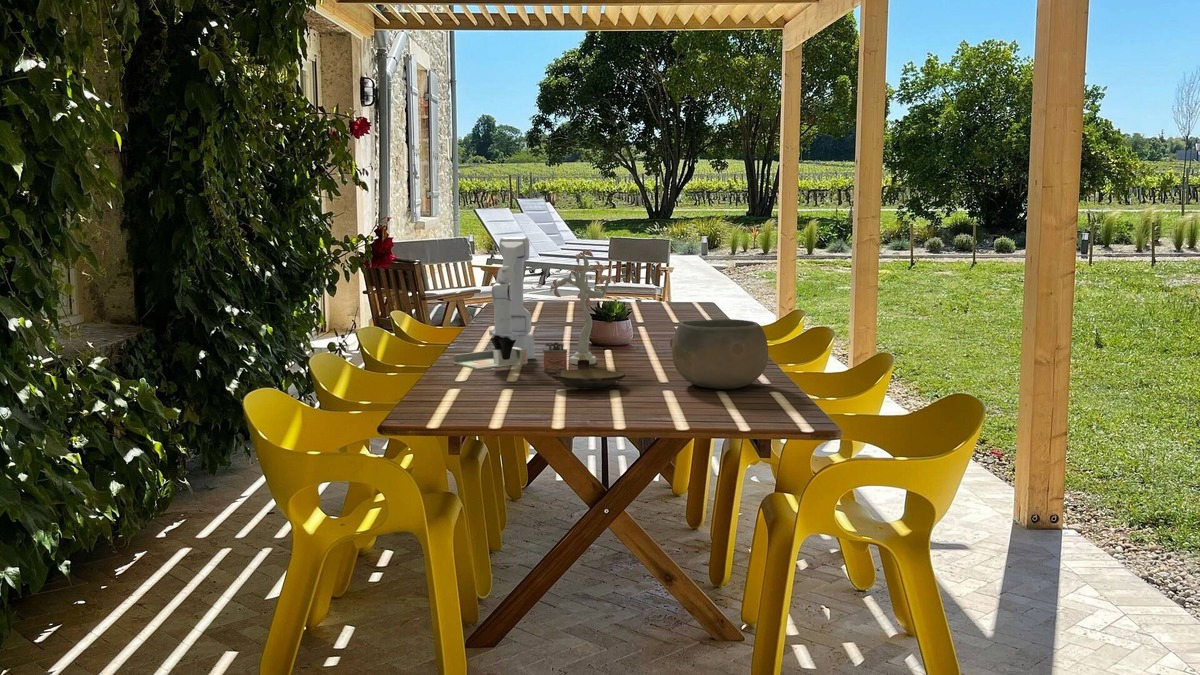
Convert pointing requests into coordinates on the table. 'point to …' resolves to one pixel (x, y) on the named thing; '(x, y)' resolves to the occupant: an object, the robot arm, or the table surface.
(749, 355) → the clay pot
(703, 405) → the table surface
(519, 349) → the bracket
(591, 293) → the white tree stand
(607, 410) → the table surface
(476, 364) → the arena
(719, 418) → the table surface
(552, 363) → the lighter
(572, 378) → the oil lamp
